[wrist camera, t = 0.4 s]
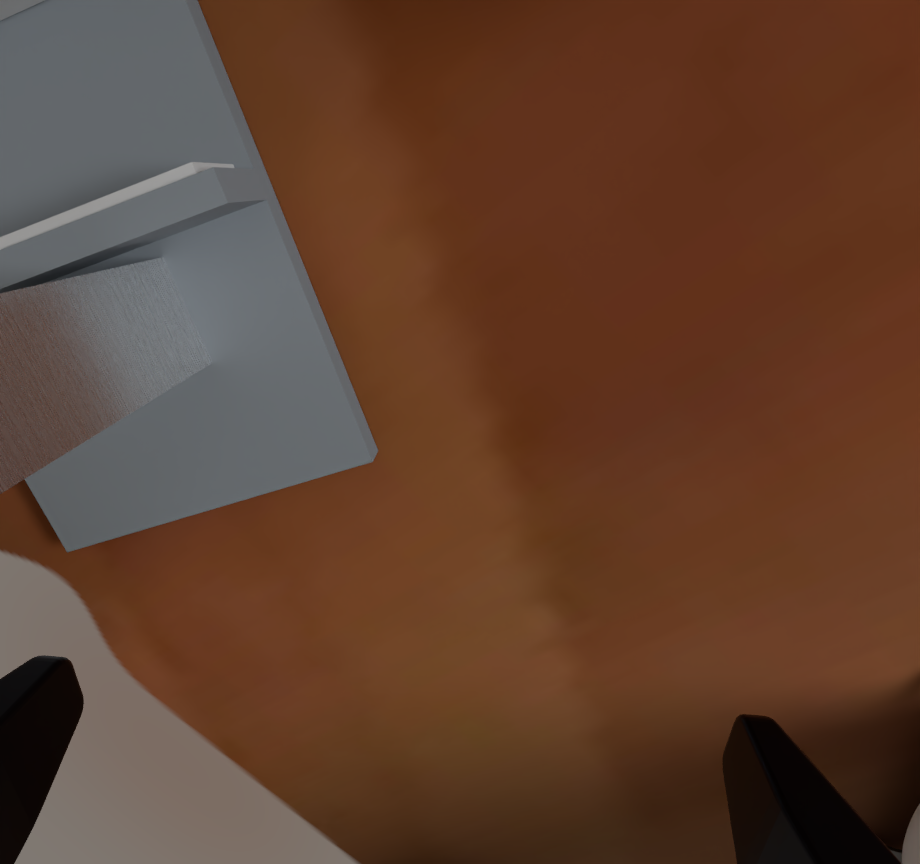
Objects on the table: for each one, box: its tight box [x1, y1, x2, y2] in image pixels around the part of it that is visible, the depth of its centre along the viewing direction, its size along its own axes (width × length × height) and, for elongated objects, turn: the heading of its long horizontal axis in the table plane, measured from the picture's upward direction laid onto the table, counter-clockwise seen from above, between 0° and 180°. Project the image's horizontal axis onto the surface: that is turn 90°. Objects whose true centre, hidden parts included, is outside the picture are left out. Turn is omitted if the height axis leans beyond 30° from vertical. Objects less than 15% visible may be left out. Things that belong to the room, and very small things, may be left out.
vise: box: [0, 0, 378, 552], centre depth 20 cm, size 18×12×4 cm, turn 19°
